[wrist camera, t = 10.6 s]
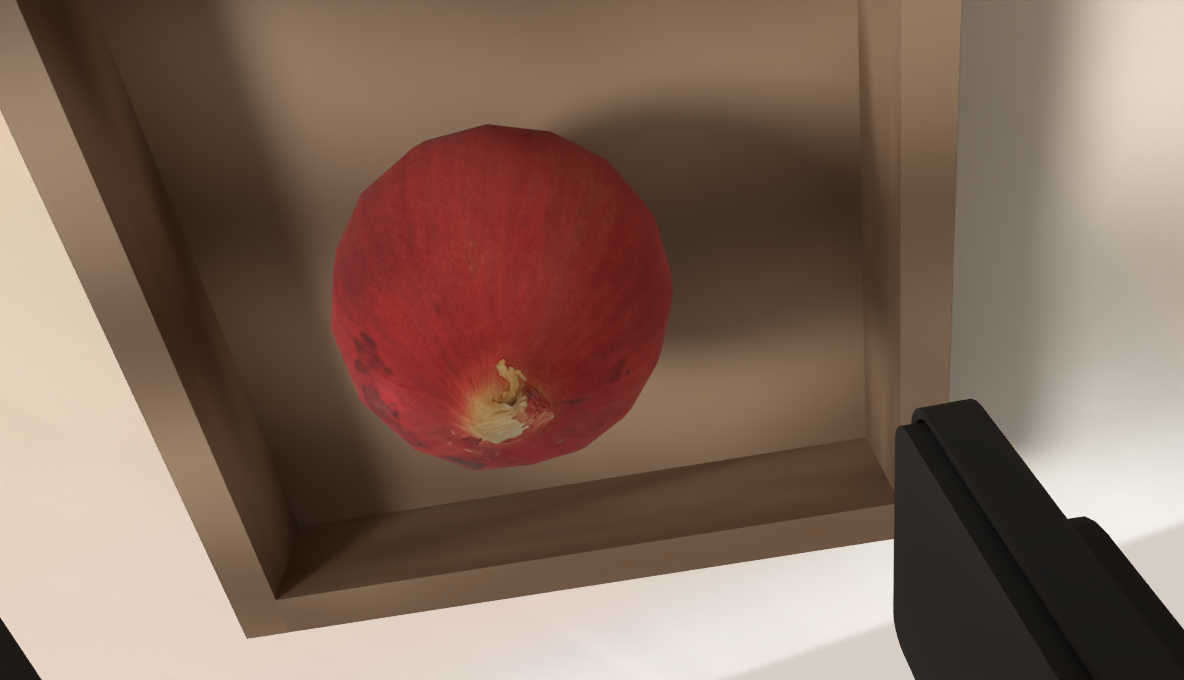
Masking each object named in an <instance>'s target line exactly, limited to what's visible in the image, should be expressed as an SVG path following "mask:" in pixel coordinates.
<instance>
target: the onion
mask: <svg viewBox="0 0 1184 680" xmlns="http://www.w3.org/2000/svg"><path fill="white" fill-rule="evenodd" d="M672 297H673V286H672V275H671V270H670V267H669V264H668V260H667V257H666V254H665V251H664V247H663V244H662V241H661V238H660V234H659V231H658V228H657V225H656V221H655V218H654V216H653V215H652V213H651V212H650V210H649V209H648V207H647V206H646V204H645V203H644V202H643V200H642V199H641V198H640V197H639V196H638V195H637V194H636V192H635V191H634V190H633V189H632V188H631V187H630V186H629V185H628V183H627V182H626V181H625V180H624V179H623V178H622V177H621V175H620V174H619V173H618V172H617V171H616V170H615V169H614V168H613V166H612V165H611V164H610V163H609V162H608V161H607V160H606V159H605V158H603V157H601V156H599V155H597V154H595V153H593V152H591V151H589V150H587V149H585V148H583V147H581V146H579V145H577V144H575V143H573V142H571V141H569V140H567V139H565V138H563V137H561V136H559V135H557V134H555V133H553V132H551V131H542V130H534V129H525V128H517V127H508V126H500V125H491V124H485V125H481V126H478V127H474V128H470V129H467V130H463V131H459V132H455V133H452V134H448V135H444V136H440V137H437V138H433V139H429V140H425V141H423V142H422V143H420V144H418V145H417V146H415V147H413V148H412V149H411V150H409V151H408V152H407V153H406V154H405V155H404V156H403V157H402V158H400V159H399V160H398V161H397V162H396V163H395V164H394V165H393V166H391V167H390V168H389V169H388V170H387V171H386V172H385V173H384V174H382V175H381V176H380V177H379V178H378V179H377V180H376V181H375V182H373V183H372V184H371V185H370V186H369V187H368V188H367V189H366V190H364V191H363V192H362V193H361V195H360V197H359V199H358V202H357V204H356V206H355V208H354V211H353V213H352V215H351V217H350V220H349V222H348V224H347V226H346V228H345V231H344V233H343V235H342V237H341V240H340V242H339V244H338V246H337V249H336V254H335V261H334V268H333V283H332V306H331V331H332V333H333V336H334V338H335V341H336V343H337V346H338V348H339V351H340V353H341V355H342V358H343V360H344V363H345V365H346V368H347V370H348V372H349V375H350V377H351V380H352V382H353V385H354V387H355V390H356V392H357V394H358V397H359V399H360V400H361V401H362V402H363V403H364V404H365V405H366V406H367V407H368V408H369V409H370V410H371V411H372V412H373V413H374V414H375V415H377V416H378V417H379V418H380V419H381V420H382V421H383V422H384V423H386V424H387V425H388V426H389V427H390V428H391V429H392V430H393V431H394V432H396V433H397V434H398V435H399V436H400V437H401V438H402V439H403V440H404V441H406V442H407V443H408V444H409V445H410V446H411V447H412V448H413V449H414V450H417V451H420V452H423V453H425V454H428V455H431V456H434V457H437V458H439V459H442V460H445V461H448V462H450V463H453V464H456V465H459V466H462V467H464V468H467V469H470V470H473V471H477V470H487V469H497V468H506V467H516V466H526V465H533V464H536V463H540V462H543V461H546V460H550V459H553V458H556V457H560V456H563V455H566V454H570V453H573V452H576V451H579V450H581V449H583V448H585V447H587V446H588V445H589V444H590V443H592V442H593V441H594V440H596V439H597V438H598V437H599V436H601V435H602V434H603V433H605V432H606V431H607V430H608V429H610V428H611V427H612V426H614V425H615V424H616V423H617V422H619V421H620V420H621V419H623V418H624V417H625V416H626V415H627V413H628V412H629V411H630V410H631V408H632V407H633V405H634V404H635V402H636V400H637V398H638V397H639V395H640V393H641V391H642V390H643V388H644V386H645V384H646V382H647V381H648V379H649V377H650V375H651V374H652V372H653V370H654V368H655V367H656V365H657V363H658V360H659V357H660V354H661V351H662V348H663V343H664V338H665V333H666V328H667V323H668V318H669V312H670V307H671V302H672Z"/></svg>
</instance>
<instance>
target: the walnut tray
mask: <svg viewBox="0 0 1184 680" xmlns="http://www.w3.org/2000/svg"><path fill="white" fill-rule="evenodd" d="M961 6H962V0H0V110H1V112H2V114H3V117H4V119H5V121H6V123H7V125H8V127H9V129H10V132H11V134H12V136H13V138H14V140H15V142H16V144H17V147H18V149H19V151H20V153H21V155H22V157H23V160H24V162H25V164H26V166H27V168H28V170H29V172H30V175H31V177H32V179H33V181H34V183H35V185H36V187H37V190H38V192H39V194H40V196H41V198H42V200H43V202H44V205H45V207H46V209H47V211H48V213H49V215H50V217H51V220H52V222H53V224H54V226H55V228H56V230H57V232H58V235H59V237H60V239H61V241H62V243H63V245H64V247H65V250H66V252H67V254H68V256H69V258H70V260H71V262H72V265H73V267H74V269H75V271H76V273H77V275H78V278H79V280H80V282H81V284H82V286H83V288H84V290H85V293H86V295H87V297H88V299H89V301H90V303H91V305H92V308H93V310H94V312H95V314H96V316H97V318H98V320H99V323H100V325H101V327H102V329H103V331H104V333H105V335H106V338H107V340H108V342H109V344H110V346H111V348H112V350H113V353H114V355H115V357H116V359H117V361H118V363H119V365H120V368H121V370H122V372H123V374H124V376H125V378H126V380H127V383H128V385H129V387H130V389H131V391H132V393H133V395H134V398H135V400H136V402H137V404H138V406H139V408H140V411H141V413H142V415H143V417H144V419H145V421H146V423H147V426H148V428H149V430H150V432H151V434H152V436H153V438H154V441H155V443H156V445H157V447H158V449H159V451H160V453H161V456H162V458H163V460H164V462H165V464H166V466H167V468H168V471H169V473H170V475H171V477H172V479H173V481H174V483H175V486H176V488H177V490H178V492H179V494H180V496H181V498H182V501H183V503H184V505H185V507H186V509H187V511H188V513H189V516H190V518H191V520H192V522H193V524H194V526H195V529H196V531H197V533H198V535H199V537H200V539H201V541H202V544H203V546H204V548H205V550H206V552H207V554H208V556H209V559H210V561H211V563H212V565H213V567H214V569H215V571H216V574H217V576H218V578H219V580H220V582H221V584H222V586H223V589H224V591H225V593H226V595H227V597H228V599H229V601H230V604H231V606H232V608H233V610H234V612H235V614H236V616H237V619H238V621H239V623H240V625H241V627H242V629H243V631H244V634H245V636H246V638H247V639H248V638H255V637H261V636H268V635H274V634H281V633H287V632H294V631H300V630H307V629H313V628H320V627H326V626H332V625H339V624H345V623H352V622H358V621H365V620H371V619H378V618H384V617H391V616H397V615H404V614H410V613H417V612H423V611H430V610H436V609H442V608H449V607H455V606H462V605H468V604H475V603H481V602H488V601H494V600H501V599H507V598H514V597H520V596H527V595H533V594H540V593H546V592H552V591H559V590H565V589H572V588H578V587H585V586H591V585H598V584H604V583H611V582H617V581H624V580H630V579H637V578H643V577H650V576H656V575H662V574H669V573H675V572H682V571H688V570H695V569H701V568H708V567H714V566H721V565H727V564H734V563H740V562H747V561H753V560H760V559H766V558H772V557H779V556H785V555H792V554H798V553H805V552H811V551H818V550H824V549H831V548H837V547H844V546H850V545H857V544H863V543H870V542H876V541H882V540H889V539H894V489H895V432H896V429H897V427H899V426H902V425H908V424H911V420H912V415H913V412H914V410H915V409H917V408H920V407H926V406H932V405H938V404H944V403H949V378H950V347H951V316H952V285H953V254H954V223H955V192H956V161H957V130H958V99H959V68H960V37H961ZM485 124H491V125H500V126H508V127H517V128H525V129H534V130H542V131H551V132H553V133H555V134H557V135H559V136H561V137H563V138H565V139H567V140H569V141H571V142H573V143H575V144H577V145H579V146H581V147H583V148H585V149H587V150H589V151H591V152H593V153H595V154H597V155H599V156H601V157H603V158H605V159H606V160H607V161H608V162H609V163H610V164H611V165H612V166H613V168H614V169H615V170H616V171H617V172H618V173H619V174H620V175H621V177H622V178H623V179H624V180H625V181H626V182H627V183H628V185H629V186H630V187H631V188H632V189H633V190H634V191H635V192H636V194H637V195H638V196H639V197H640V198H641V199H642V200H643V202H644V203H645V204H646V206H647V207H648V209H649V210H650V212H651V213H652V215H653V216H654V218H655V221H656V225H657V228H658V231H659V234H660V238H661V241H662V244H663V247H664V251H665V254H666V257H667V260H668V264H669V267H670V270H671V275H672V286H673V297H672V302H671V307H670V312H669V318H668V323H667V328H666V333H665V338H664V343H663V348H662V351H661V354H660V357H659V360H658V363H657V365H656V367H655V368H654V370H653V372H652V374H651V375H650V377H649V379H648V381H647V382H646V384H645V386H644V388H643V390H642V391H641V393H640V395H639V397H638V398H637V400H636V402H635V404H634V405H633V407H632V408H631V410H630V411H629V412H628V413H627V415H626V416H625V417H624V418H623V419H621V420H620V421H619V422H617V423H616V424H615V425H614V426H612V427H611V428H610V429H608V430H607V431H606V432H605V433H603V434H602V435H601V436H599V437H598V438H597V439H596V440H594V441H593V442H592V443H590V444H589V445H588V446H587V447H585V448H583V449H581V450H579V451H576V452H573V453H570V454H566V455H563V456H560V457H556V458H553V459H550V460H546V461H543V462H540V463H536V464H533V465H526V466H516V467H506V468H497V469H487V470H477V471H473V470H470V469H467V468H464V467H462V466H459V465H456V464H453V463H450V462H448V461H445V460H442V459H439V458H437V457H434V456H431V455H428V454H425V453H423V452H420V451H417V450H414V449H413V448H412V447H411V446H410V445H409V444H408V443H407V442H406V441H404V440H403V439H402V438H401V437H400V436H399V435H398V434H397V433H396V432H394V431H393V430H392V429H391V428H390V427H389V426H388V425H387V424H386V423H384V422H383V421H382V420H381V419H380V418H379V417H378V416H377V415H375V414H374V413H373V412H372V411H371V410H370V409H369V408H368V407H367V406H366V405H365V404H364V403H363V402H362V401H361V400H360V399H359V397H358V394H357V392H356V390H355V387H354V385H353V382H352V380H351V377H350V375H349V372H348V370H347V368H346V365H345V363H344V360H343V358H342V355H341V353H340V351H339V348H338V346H337V343H336V341H335V338H334V336H333V333H332V331H331V306H332V283H333V268H334V261H335V254H336V249H337V246H338V244H339V242H340V240H341V237H342V235H343V233H344V231H345V228H346V226H347V224H348V222H349V220H350V217H351V215H352V213H353V211H354V208H355V206H356V204H357V202H358V199H359V197H360V195H361V193H362V192H363V191H364V190H366V189H367V188H368V187H369V186H370V185H371V184H372V183H373V182H375V181H376V180H377V179H378V178H379V177H380V176H381V175H382V174H384V173H385V172H386V171H387V170H388V169H389V168H390V167H391V166H393V165H394V164H395V163H396V162H397V161H398V160H399V159H400V158H402V157H403V156H404V155H405V154H406V153H407V152H408V151H409V150H411V149H412V148H413V147H415V146H417V145H418V144H420V143H422V142H423V141H425V140H429V139H433V138H437V137H440V136H444V135H448V134H452V133H455V132H459V131H463V130H467V129H470V128H474V127H478V126H481V125H485Z"/></svg>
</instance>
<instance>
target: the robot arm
mask: <svg viewBox="0 0 1184 680" xmlns="http://www.w3.org/2000/svg"><path fill="white" fill-rule="evenodd" d="M893 613H894V623H895V628H896V632H897V637H898V640H899V643H900V646H901V649H902V651H903V654H904V656H905V658H906V660H907V662H908V665H909V667H910V669H911V671H912V673H913V676H914V678H915V680H1184V629H1183V628H1182V627H1181V626H1180V624H1179V623H1178V622H1177V620H1176V619H1175V618H1174V617H1173V615H1172V614H1171V613H1170V612H1169V611H1168V609H1167V608H1166V607H1165V605H1164V604H1163V603H1162V602H1161V600H1160V599H1159V598H1158V597H1157V595H1156V594H1155V593H1154V592H1153V590H1152V589H1151V588H1150V587H1149V585H1148V584H1147V583H1146V582H1145V580H1144V579H1143V578H1142V577H1141V575H1140V574H1139V573H1138V571H1137V570H1136V569H1135V568H1134V566H1133V565H1132V564H1131V563H1130V561H1129V560H1128V559H1127V558H1126V557H1125V555H1124V554H1123V553H1122V551H1121V550H1120V549H1119V548H1118V546H1117V545H1116V544H1115V543H1114V541H1113V540H1112V539H1111V538H1110V536H1109V535H1108V534H1107V533H1106V532H1105V531H1104V530H1103V529H1102V528H1101V527H1100V526H1099V525H1098V524H1097V523H1096V522H1095V521H1093V520H1091V519H1089V518H1087V517H1085V516H1084V517H1077V518H1071V519H1067V518H1066V516H1065V515H1064V514H1063V513H1062V511H1061V510H1060V509H1059V507H1058V506H1057V505H1056V503H1055V502H1054V501H1053V499H1052V498H1051V497H1050V495H1049V494H1048V493H1047V491H1046V490H1045V489H1044V487H1043V486H1042V485H1041V483H1040V482H1039V481H1038V480H1037V478H1036V477H1035V476H1034V474H1033V473H1032V472H1031V470H1030V469H1029V468H1028V466H1027V465H1026V464H1025V462H1024V461H1023V460H1022V458H1021V457H1020V456H1019V454H1018V453H1017V452H1016V451H1015V449H1014V448H1013V447H1012V445H1011V444H1010V443H1009V441H1008V440H1007V439H1006V437H1005V436H1004V435H1003V433H1002V432H1001V431H1000V429H999V428H998V427H997V425H996V424H995V423H994V421H993V420H992V419H991V418H990V416H989V415H988V414H987V412H986V411H985V410H984V408H983V407H982V406H981V405H980V404H979V403H978V402H977V401H976V400H973V399H967V400H961V401H955V402H949V403H944V404H938V405H932V406H926V407H920V408H917V409H915V410H914V412H913V415H912V420H911V424H908V425H902V426H899V427H897V429H896V432H895V489H894V602H893ZM0 680H41V678H40V677H39V675H38V674H37V672H36V671H35V669H34V668H33V666H32V665H31V663H30V662H29V660H28V659H27V657H26V656H25V654H24V653H23V651H22V650H21V648H20V647H19V645H18V644H17V642H16V641H15V639H14V638H13V636H12V635H11V633H10V632H9V630H8V629H7V627H6V626H5V624H4V623H3V621H2V620H1V618H0Z"/></svg>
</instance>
